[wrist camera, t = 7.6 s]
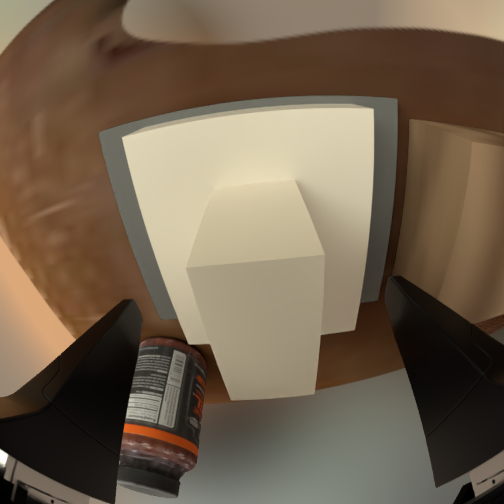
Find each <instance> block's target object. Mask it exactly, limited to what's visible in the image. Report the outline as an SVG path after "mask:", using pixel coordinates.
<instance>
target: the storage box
mask: <svg viewBox="0 0 504 504" xmlns="http://www.w3.org/2000/svg"><path fill="white" fill-rule="evenodd" d="M396 275H400V276H402V277H404V278H405V279H407V280H408V281H410V282H412V283H413V284H415V285H416V286H418V287H419V288H421V289H422V290H424V291H425V292H427V293H428V294H430V295H431V296H433V297H434V298H436V299H437V300H439V301H440V302H442V303H443V304H445V305H446V306H448V307H449V308H451V309H452V310H453V311H455V312H456V313H458V314H459V315H461V316H462V317H464V318H465V319H466V320H468V321H469V322H470V324H471V323H472V324H475V323H478V322H481V321H484V320H487V319H490V318H493V317H496V316H499V315H502V314H504V134H502V133H498V132H493V131H488V130H484V129H478V128H473V127H467V126H462V125H455V124H449V123H441V122H433V121H425V120H415V119H409V145H408V164H407V177H406V188H405V198H404V206H403V214H402V222H401V228H400V235H399V241H398V247H397V253H396V258H395V263H394V268H393V273H392V276H396Z"/></svg>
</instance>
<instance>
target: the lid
mask: <svg viewBox="0 0 504 504" xmlns="http://www.w3.org/2000/svg"><path fill="white" fill-rule="evenodd" d="M122 140H123V144H124V149H125V153H126V157H127V161H128V165H129V169H130V173H131V177H132V181H133V185H134V188H135V192H136V196H137V199H138V203H139V206H140V210H141V213H142V217H143V220H144V223H145V226H146V230H147V233H148V236H149V239H150V242H151V245H152V248H153V251H154V254H155V257H156V260H157V263H158V266H159V269H160V272H161V275H162V277H163V280H164V283H165V286H166V288H167V291H168V294H169V296H170V299H171V302H172V304H173V307H174V309H175V312H176V315H177V317H178V320H179V322H180V324H181V327H182V329H183V332H184V334H185V337H186V339H187V341H188V344H210V345H211V348H212V351H213V354H214V356H215V359H216V362H217V365H218V367H219V370H220V373H221V375H222V378H223V381H224V383H225V386H226V389H227V391H228V394H229V396H230V399H231V400H257V399H273V398H284V397H295V396H303V395H313V394H314V393H315V385H316V377H317V368H318V358H319V348H320V336H321V335H324V334H331V333H339V332H346V331H352V330H355V326H356V321H357V316H358V310H359V304H360V299H361V293H362V286H363V280H364V273H365V266H366V258H367V250H368V241H369V231H370V220H371V208H372V192H373V171H374V109H372V108H368V107H364V106H359V105H354V104H303V105H285V106H271V107H260V108H251V109H242V110H234V111H227V112H220V113H213V114H207V115H201V116H195V117H190V118H185V119H180V120H175V121H170V122H165V123H161V124H157V125H152V126H148V127H144V128H142V129H140V130H137V131H135V132H133V133H131V134H128V135H126V136H124V137H122Z"/></svg>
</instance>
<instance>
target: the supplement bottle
mask: <svg viewBox="0 0 504 504" xmlns="http://www.w3.org/2000/svg"><path fill="white" fill-rule="evenodd" d="M206 371H207V365H206V361H205V360H204V358H203V356H202V355H201V354H200V353H199V352H198V351H197V350H196V349H195V348H193V347H191V346H190V345H188V344H186V343H183V342H181V341H178V340H175V339H171V338H162V337H157V338H148V339H146V340H144V341H142V342H141V343H140V346H139V354H138V359H137V364H136V369H135V373H134V378H133V383H132V387H131V392H130V398H129V403H128V408H127V414H126V419H125V425H124V431H123V438H122V445H121V452H120V465H119V468H118V477H117V484H118V485H121V486H123V487H125V488H128V489H130V490H134V491H137V492H140V493H144V494H148V495H153V496H158V497H165V498H177V497H178V492H179V485H180V481H179V479H180V478H181V477H182V475H183V474H184V473H185V472H187V471H190V470H191V469H193V468H194V467H195V465H196V463H197V457H198V449H199V438H200V429H201V418H202V410H203V401H204V392H205V384H206V377H207V373H206Z"/></svg>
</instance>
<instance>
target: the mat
mask: <svg viewBox="0 0 504 504" xmlns="http://www.w3.org/2000/svg"><path fill="white" fill-rule="evenodd" d="M303 104H354V105H359V106H364V107H368V108H372V109H374V171H373V192H372V208H371V220H370V231H369V241H368V250H367V258H366V266H365V273H364V280H363V286H362V293H361V299H360V303H364V302H371V301H378V297H379V292H380V287H381V282H382V277H383V272H384V266H385V261H386V255H387V249H388V242H389V235H390V228H391V220H392V212H393V202H394V192H395V180H396V164H397V138H398V106H397V99H394V98H383V97H367V96H292V97H276V98H264V99H253V100H244V101H236V102H228V103H221V104H215V105H208V106H202V107H197V108H191V109H186V110H181V111H176V112H171V113H167V114H162V115H158V116H154V117H150V118H146V119H142V120H138V121H134V122H131V123H127V124H124V125H120V126H117V127H113V128H110V129H107V130H104V131H101V132H99V137H100V142H101V146H102V150H103V154H104V158H105V162H106V166H107V170H108V174H109V177H110V181H111V184H112V188H113V191H114V195H115V198H116V201H117V205H118V208H119V211H120V214H121V217H122V220H123V223H124V227H125V229H126V232H127V235H128V238H129V241H130V244H131V247H132V250H133V252H134V255H135V258H136V260H137V263H138V266H139V268H140V271H141V274H142V276H143V279H144V281H145V284H146V286H147V289H148V291H149V293H150V296H151V298H152V301H153V303H154V305H155V308H156V310H157V312H158V314H159V317H160V319H178V317H177V315H176V312H175V309H174V307H173V304H172V302H171V299H170V296H169V294H168V291H167V288H166V286H165V283H164V280H163V277H162V275H161V272H160V269H159V266H158V263H157V260H156V257H155V254H154V251H153V248H152V245H151V242H150V239H149V236H148V233H147V230H146V226H145V223H144V220H143V217H142V213H141V210H140V206H139V203H138V199H137V196H136V192H135V188H134V185H133V181H132V177H131V173H130V169H129V165H128V161H127V157H126V153H125V149H124V144H123V140H122V137H124V136H126V135H128V134H131V133H133V132H135V131H137V130H140V129H142V128H144V127H148V126H152V125H157V124H161V123H165V122H170V121H175V120H180V119H185V118H190V117H195V116H201V115H207V114H213V113H220V112H227V111H234V110H242V109H251V108H260V107H271V106H285V105H303Z"/></svg>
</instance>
